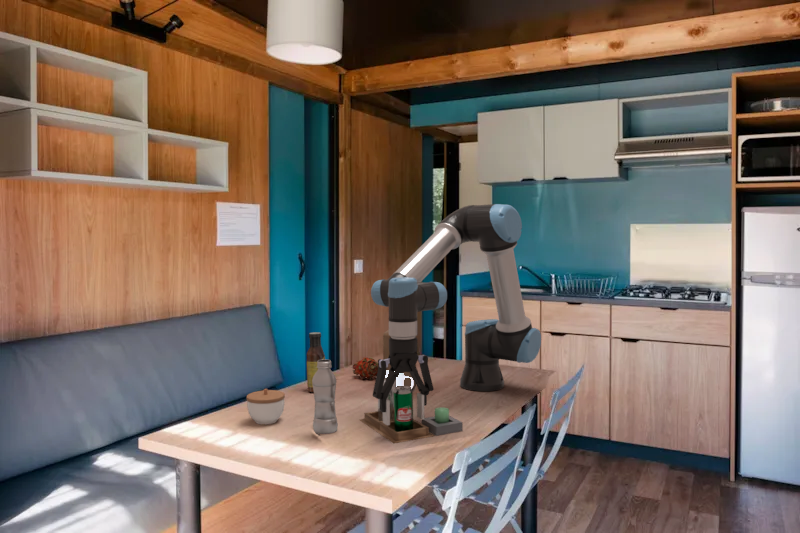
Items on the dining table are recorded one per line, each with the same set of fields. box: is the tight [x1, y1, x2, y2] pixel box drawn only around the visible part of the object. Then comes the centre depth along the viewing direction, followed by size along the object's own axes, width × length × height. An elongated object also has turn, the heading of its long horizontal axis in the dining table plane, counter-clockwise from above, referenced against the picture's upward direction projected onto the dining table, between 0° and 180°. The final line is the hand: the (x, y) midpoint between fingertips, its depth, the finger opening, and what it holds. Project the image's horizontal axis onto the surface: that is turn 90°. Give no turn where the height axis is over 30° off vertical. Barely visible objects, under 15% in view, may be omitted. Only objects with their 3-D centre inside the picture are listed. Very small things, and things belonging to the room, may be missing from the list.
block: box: [382, 328, 417, 387], centre depth 213 cm, size 10×10×20 cm
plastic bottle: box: [312, 358, 339, 436], centre depth 164 cm, size 6×7×20 cm
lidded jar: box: [246, 388, 286, 425], centre depth 176 cm, size 11×11×9 cm
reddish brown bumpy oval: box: [352, 356, 378, 380], centre depth 227 cm, size 8×8×12 cm
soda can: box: [393, 386, 414, 432], centre depth 162 cm, size 5×5×12 cm
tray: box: [359, 410, 435, 444], centre depth 167 cm, size 12×22×3 cm, turn 27°
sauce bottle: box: [306, 331, 326, 393], centre depth 209 cm, size 7×6×20 cm
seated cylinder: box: [377, 378, 396, 421], centre depth 171 cm, size 5×5×12 cm
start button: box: [434, 406, 450, 424], centre depth 165 cm, size 4×4×3 cm
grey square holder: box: [421, 415, 464, 437], centre depth 165 cm, size 8×8×4 cm
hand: (403, 420), depth 162 cm, fingers open, 9 cm apart
